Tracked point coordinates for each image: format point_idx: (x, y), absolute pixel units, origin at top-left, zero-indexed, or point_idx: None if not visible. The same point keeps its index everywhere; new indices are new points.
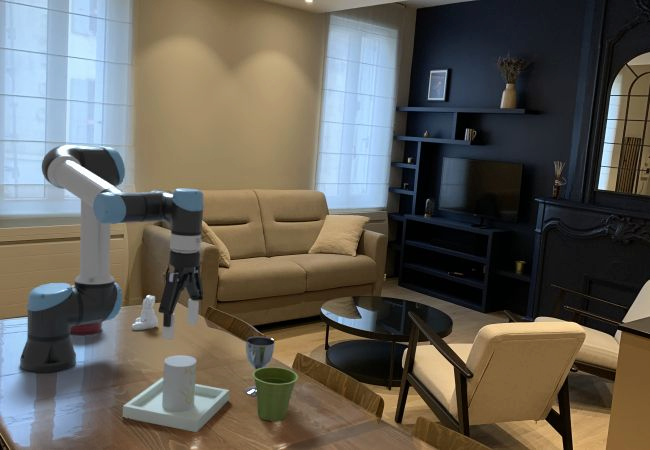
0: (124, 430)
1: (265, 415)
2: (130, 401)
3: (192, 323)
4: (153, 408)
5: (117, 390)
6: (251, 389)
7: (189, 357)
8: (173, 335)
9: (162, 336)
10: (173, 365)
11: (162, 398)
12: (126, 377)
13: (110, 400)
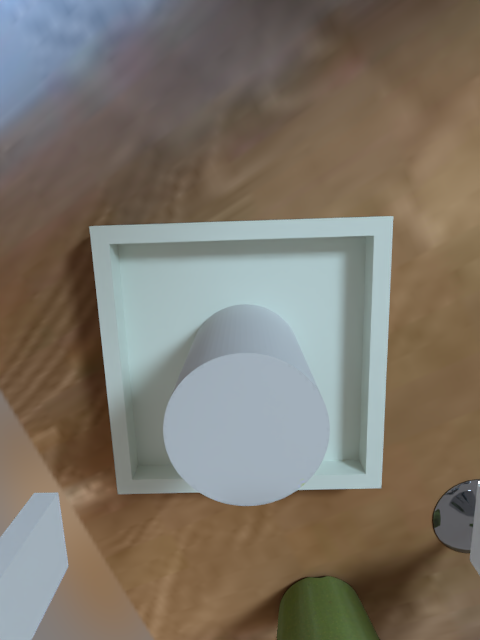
0: (32, 282)
1: (278, 618)
2: (133, 229)
3: (475, 534)
4: (182, 298)
5: (289, 69)
6: (470, 507)
7: (312, 448)
8: (53, 588)
9: (27, 503)
10: (171, 432)
11: (213, 319)
12: (424, 19)
13: (198, 102)
